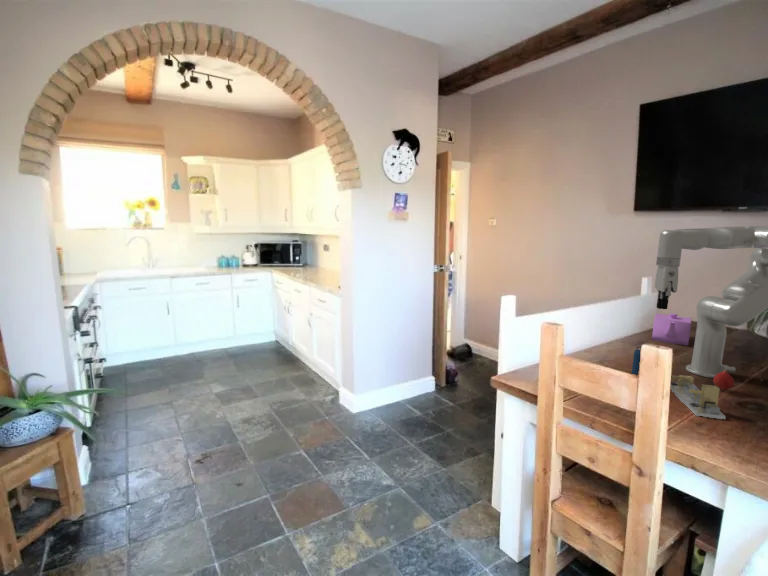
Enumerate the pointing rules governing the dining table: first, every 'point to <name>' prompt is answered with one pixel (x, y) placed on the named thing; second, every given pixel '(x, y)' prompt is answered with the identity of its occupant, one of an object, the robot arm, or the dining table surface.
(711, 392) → the sliding jaw
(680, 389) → the board
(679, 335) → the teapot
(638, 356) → the soda can
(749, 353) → the dining table surface
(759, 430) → the dining table surface
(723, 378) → the onion
